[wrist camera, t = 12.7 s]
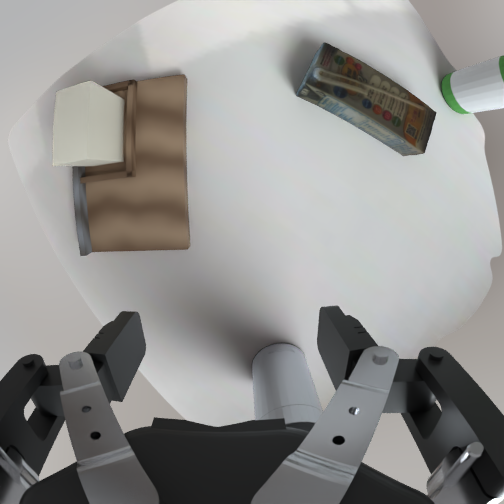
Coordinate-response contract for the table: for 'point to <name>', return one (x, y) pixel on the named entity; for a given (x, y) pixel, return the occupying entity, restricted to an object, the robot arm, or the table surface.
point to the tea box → (87, 126)
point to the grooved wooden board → (139, 175)
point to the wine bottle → (476, 87)
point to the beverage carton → (367, 100)
